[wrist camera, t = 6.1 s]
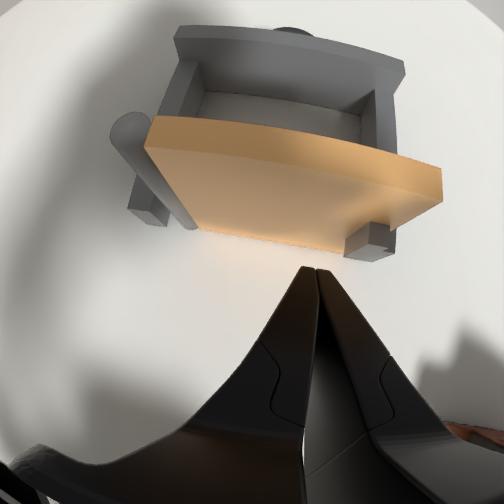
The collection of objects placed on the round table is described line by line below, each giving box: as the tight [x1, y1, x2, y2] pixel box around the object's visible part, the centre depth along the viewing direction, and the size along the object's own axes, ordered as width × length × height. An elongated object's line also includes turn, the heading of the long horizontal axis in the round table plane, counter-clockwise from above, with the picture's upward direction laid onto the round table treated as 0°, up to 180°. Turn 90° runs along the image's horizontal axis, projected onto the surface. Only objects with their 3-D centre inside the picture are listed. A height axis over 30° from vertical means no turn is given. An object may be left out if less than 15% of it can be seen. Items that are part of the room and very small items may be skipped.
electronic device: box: [443, 421, 504, 454], centre depth 10 cm, size 4×10×8 cm, turn 67°
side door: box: [110, 112, 443, 260], centre depth 12 cm, size 2×9×9 cm, turn 80°
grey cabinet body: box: [127, 25, 406, 262], centre depth 15 cm, size 12×13×5 cm
